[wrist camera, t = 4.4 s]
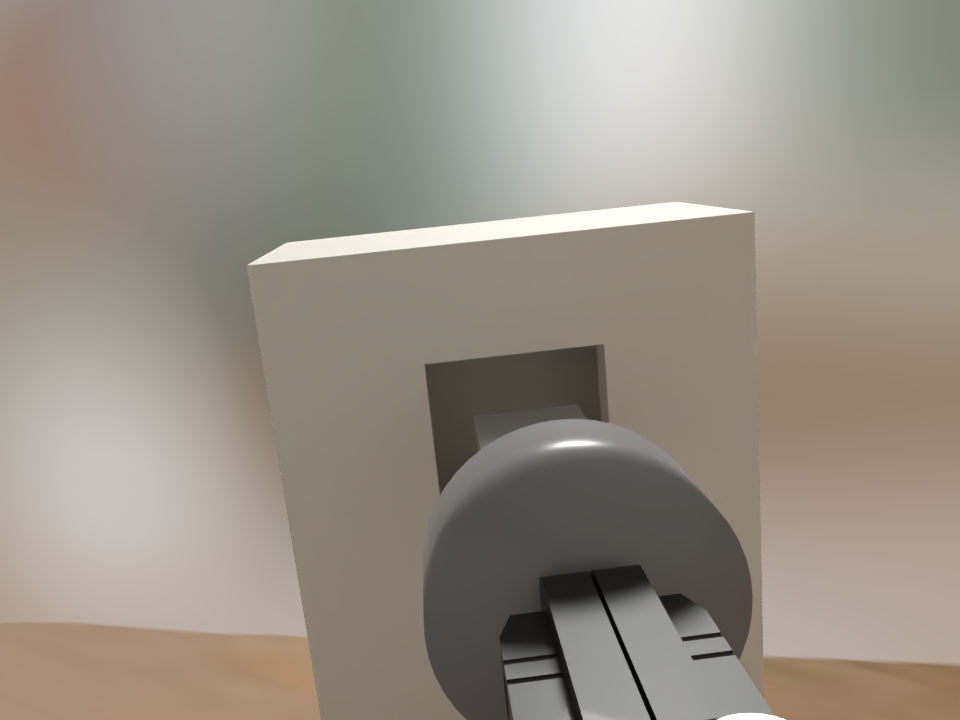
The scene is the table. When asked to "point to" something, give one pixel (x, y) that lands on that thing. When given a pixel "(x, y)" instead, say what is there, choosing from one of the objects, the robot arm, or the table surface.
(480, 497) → the upper grey button
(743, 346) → the box
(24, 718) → the table surface
